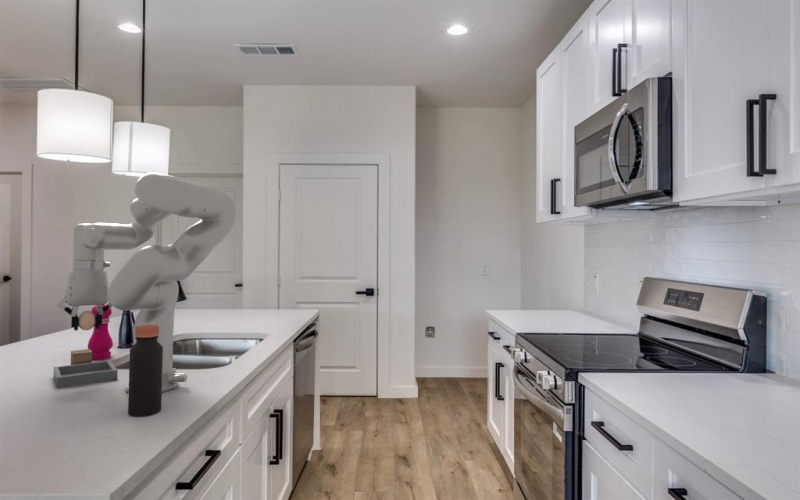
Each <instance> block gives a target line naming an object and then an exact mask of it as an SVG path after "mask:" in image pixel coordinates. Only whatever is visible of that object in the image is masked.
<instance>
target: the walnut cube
mask: <svg viewBox="0 0 800 500" xmlns="http://www.w3.org/2000/svg"><path fill="white" fill-rule="evenodd" d="M92 361H93V360H92V351H91V350H90V349H88V348H86V349H79V350H77V349H76V350H70V365H76V364H84V363H93V362H92Z"/></svg>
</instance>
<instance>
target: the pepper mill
mask: <svg viewBox="0 0 800 500" xmlns="http://www.w3.org/2000/svg"><path fill="white" fill-rule="evenodd" d="M105 305H106V304H102V307H103V306H105ZM90 311H91V312H92V313H93V314H94V315H96V313H97V309H96V305H93V307H92V308H91V310H90ZM112 311H113V310H112V307H110V308H109V309H108V310H107V311H106V312H104V313H103V315H102V325H100V326H99V329H96V328H95V326H94V327H93V331H92V335H91V336H90V338H89V340H88V342H87V349H90V350H91V351H92V361H99V360H106V359H107V360H108V359H110V358H111V357H112V351H110V350H111V349H112V348H113V344H114V342H113V339H112V337H111V334H110V332H109V323H110V322H111V321H110V319H111V318H110V316H111V315H112V313H113V312H112Z"/></svg>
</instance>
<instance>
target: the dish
mask: <svg viewBox="0 0 800 500" xmlns="http://www.w3.org/2000/svg"><path fill="white" fill-rule="evenodd" d="M118 373H119V372H118V369H117V367H116V365H114V363H113V362H112V361H111V360H103V361H95V362H94V361H93V362H92V363H84V364H76V365H71V364H69V365H59V366H58V365H57V366H54V367H53V380H54V384H55V387H56V389H61V388H62V389H63V388H68V387H69V388H70V387H75V386H82V385H84V386H85V385H90V384H98V383H104V382H111V381H118Z"/></svg>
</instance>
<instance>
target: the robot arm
mask: <svg viewBox="0 0 800 500" xmlns="http://www.w3.org/2000/svg"><path fill="white" fill-rule="evenodd" d="M134 194H135V197H136V198H135V199H133V200H132V202H130V207H129V209H130V214H131V215H132V217H133V218H134V221H133V222H130V223H129V224H122V223H110V222H95V223H78V224H75V226H73V239H72V240H73V241H72V242H73V243H72V270H69V271H68V274H67V278H66V284H65V285H66V286H65V294H64V295H63V297H62V298H61V299H60V300H59V301H58V302H57V303H56V307H57V308H59V309H60V310H62V311H64V312H66V313H67V314H68V315H69V316H71V319H70V322H71V323H70V325H71V328H73V329H74V331H78V330H79V326H78V318H79V315H78V310H79V307H80V306H82V307H84V306H86V307H87V306H96V309H97V313H96V315H95V317H96V324H95V328H96V329H99V326H100V325H102V315H103V313H104V312H106V311H107V310H108V309H109V308H110V307H111V308H112V307H114V308H115V309H117V310H119V311H135V310H139V311H138V312H137V315H136V317H135V321H134V328H133V345H134V344H135V343H136V339H135V327H137V326H142V325H158V326H159V335H158V336H159V337H158V338H157V342H159V343H160V344H161V345H162V346H163V364H162V393H163V392H167V391H171V390H173V389H176V388H177V387H178V385H179V383H186V382H187V379H188V376H187V374H186V373H178V372H177V368H175V367H174V368H173V363H174V362H173V360H174V359H173V358H174V357H173V356H174V355H173V354H174V330H175V329H174V325H175V322H174V321H175V313H176V312H175V311H176V305H177V301H178V297H179V292H180V291H179V289H180V288H179V284H178V281H183V280H186V279H188V278H189V277H190V276H191V275H192V274H193V273H194V272H195V271H196V270H197V269H198V268H199V267H200V265H201V264H202V263H203V262H204V261H205V260H206V259H207V257H208V256H209V255H210V254H211V253H212V252H213V250H214V249H216V247H217V246H219V244H220V243H221V242H222V241H224V239H226V237H227V236H228V235H230V232H231V231H232V229H233V227H234V225H235V222H236V219H237V218H236V217H237V207H236V204H235V201H234V199H233V198H232V196H231V195H229V194H228V193H227V192H226V191H223V190H221V189H217V188H214V187H209V186H204V185H200V184H195V183H191V182H190V183H189V182H188V181H186V180H185V179H183V178H180V177H178V176H173V175H168V174H164V173H159V172H147V173H145V174H143V175H141V176H140V177H139V178H138V180H137V181H136V183H135V186H134ZM172 215H174V216H178V217H184V218H191V219H199V221H197V222H196V223H194V224H193V225H190V226H189V227H188V228H187V229H185V230H184V231H183V232H182V234H181V235H180V236H179V237H178V238H177V239H176V240H175V241H174V242H172V243H171V244H151V245H147V246H144V247H141V248H140V249H139V250H138V251H136V252H135V253H134V254H133V255H132V256H131V257H130V259H129V260H128V261H127V262H126V264H125V265H124V266H123V267H122V268H121V269H120V271H119V272H117V274H116V275H115V276H114V278H113V280H112V281H111V283H110V284H109V278H108V274H107V273H108V272H107V270H104V269H105V268H109V267H110V266H111V264H110V262H109V261H108V262H107V261H106V260H105V250H106V251H107V250H111V251H112V250H124V251H128V250H133V249H136V248H138V247H140V246H141V245H143V244H145V243H147V242H148V241H150V239H152V238H153V237H154V236H155V234H156V232H157V228H158V224H159V223H161V222H163V221H164V220H165V219H167V218H169V217H170V216H172ZM65 304H67V305H68V306H67V305H65ZM102 304H105V306H103V307H102ZM69 306H70V307H69ZM71 306H72V307H71ZM125 391H126V392H127V393H129V383H127V384H126V385H125Z"/></svg>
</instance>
